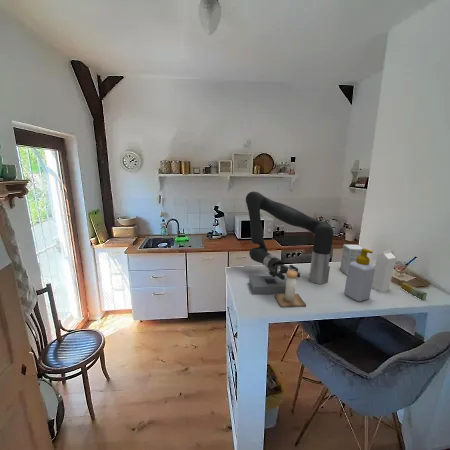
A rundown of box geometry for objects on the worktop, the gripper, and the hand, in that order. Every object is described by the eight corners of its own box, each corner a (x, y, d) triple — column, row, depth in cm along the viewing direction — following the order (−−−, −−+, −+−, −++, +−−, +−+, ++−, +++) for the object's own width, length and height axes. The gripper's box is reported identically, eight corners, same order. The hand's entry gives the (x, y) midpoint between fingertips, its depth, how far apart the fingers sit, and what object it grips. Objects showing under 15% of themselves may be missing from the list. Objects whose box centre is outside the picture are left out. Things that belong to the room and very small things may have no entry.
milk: (388, 290, 133) (397, 251, 127) (381, 292, 130) (389, 253, 125) (378, 285, 138) (386, 247, 133) (370, 287, 136) (378, 249, 130)
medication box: (425, 300, 124) (427, 293, 123) (421, 300, 124) (423, 293, 123) (403, 288, 136) (405, 282, 135) (399, 289, 135) (401, 282, 134)
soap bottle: (359, 302, 120) (367, 253, 114) (342, 294, 127) (350, 247, 121) (370, 298, 124) (379, 251, 118) (354, 290, 131) (362, 245, 125)
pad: (297, 295, 124) (297, 293, 124) (305, 306, 115) (306, 304, 114) (274, 296, 123) (274, 294, 123) (280, 307, 113) (280, 305, 113)
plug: (292, 296, 121) (295, 270, 118) (296, 301, 117) (299, 274, 113) (282, 296, 121) (285, 270, 117) (286, 302, 116) (288, 274, 113)
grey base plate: (284, 282, 138) (285, 275, 137) (292, 293, 126) (293, 286, 125) (249, 283, 136) (249, 276, 135) (253, 294, 124) (254, 287, 123)
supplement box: (361, 276, 149) (366, 249, 145) (346, 275, 149) (350, 249, 145) (353, 269, 159) (358, 244, 155) (339, 269, 159) (343, 243, 155)
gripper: (261, 258, 127) (279, 271, 113) (285, 255, 132) (305, 267, 118) (261, 272, 129) (278, 286, 115) (284, 268, 134) (303, 282, 120)
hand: (291, 276), depth 116 cm, fingers open, 8 cm apart
